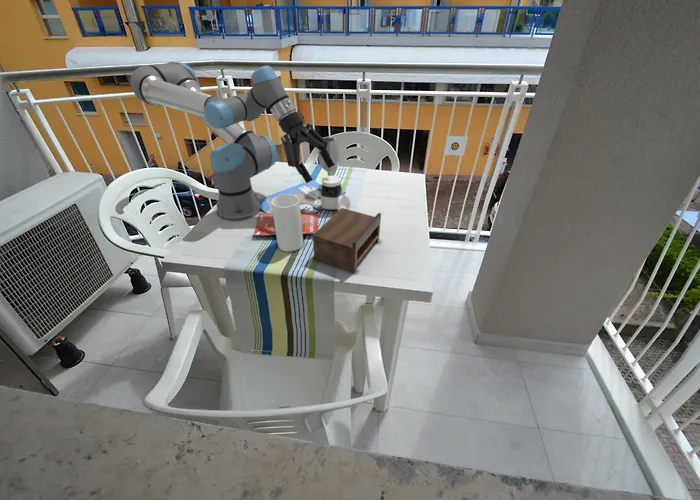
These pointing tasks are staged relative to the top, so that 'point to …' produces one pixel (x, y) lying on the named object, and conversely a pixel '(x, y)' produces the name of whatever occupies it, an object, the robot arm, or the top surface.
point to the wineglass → (334, 155)
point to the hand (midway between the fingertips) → (321, 173)
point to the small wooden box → (346, 238)
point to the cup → (287, 222)
